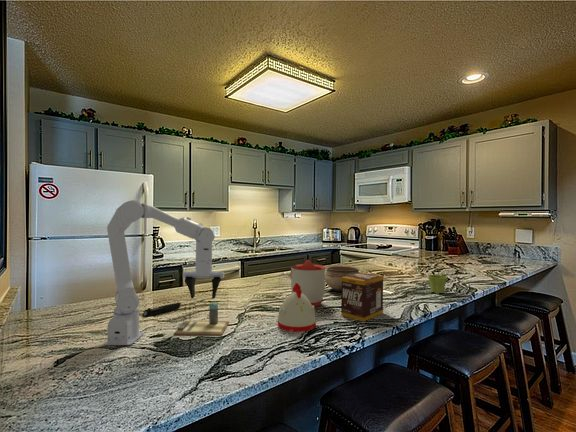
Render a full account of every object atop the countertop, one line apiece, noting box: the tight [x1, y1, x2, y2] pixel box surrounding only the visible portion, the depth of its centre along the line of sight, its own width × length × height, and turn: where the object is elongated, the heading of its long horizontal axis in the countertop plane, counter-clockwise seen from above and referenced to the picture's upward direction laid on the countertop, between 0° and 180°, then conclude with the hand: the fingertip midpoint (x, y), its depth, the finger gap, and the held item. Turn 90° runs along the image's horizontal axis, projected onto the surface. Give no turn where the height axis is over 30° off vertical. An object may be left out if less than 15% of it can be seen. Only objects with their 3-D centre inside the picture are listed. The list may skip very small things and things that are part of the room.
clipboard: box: [173, 320, 230, 337], centre depth 108 cm, size 12×16×1 cm
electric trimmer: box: [142, 301, 181, 318], centre depth 126 cm, size 4×15×3 cm, turn 138°
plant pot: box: [427, 274, 448, 294], centre depth 162 cm, size 9×9×9 cm
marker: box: [208, 302, 219, 325], centre depth 111 cm, size 3×3×7 cm
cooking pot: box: [325, 264, 360, 293], centre depth 164 cm, size 25×19×12 cm
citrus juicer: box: [287, 259, 326, 308], centre depth 139 cm, size 16×17×20 cm
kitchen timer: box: [277, 283, 317, 332], centre depth 113 cm, size 14×14×15 cm
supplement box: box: [340, 272, 384, 322], centre depth 125 cm, size 10×15×16 cm
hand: (203, 297), depth 112 cm, fingers open, 7 cm apart
